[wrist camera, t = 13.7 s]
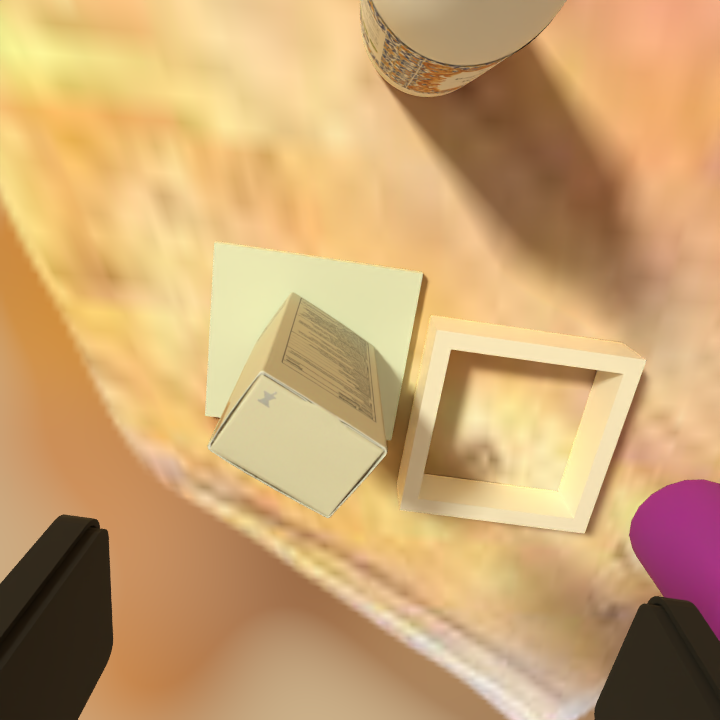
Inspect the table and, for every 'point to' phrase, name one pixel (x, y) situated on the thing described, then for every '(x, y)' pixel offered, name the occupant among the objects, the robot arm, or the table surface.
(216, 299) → the mat
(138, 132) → the table surface
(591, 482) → the collar
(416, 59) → the bath foam
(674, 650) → the robot arm
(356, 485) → the skincare box
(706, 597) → the beverage can
